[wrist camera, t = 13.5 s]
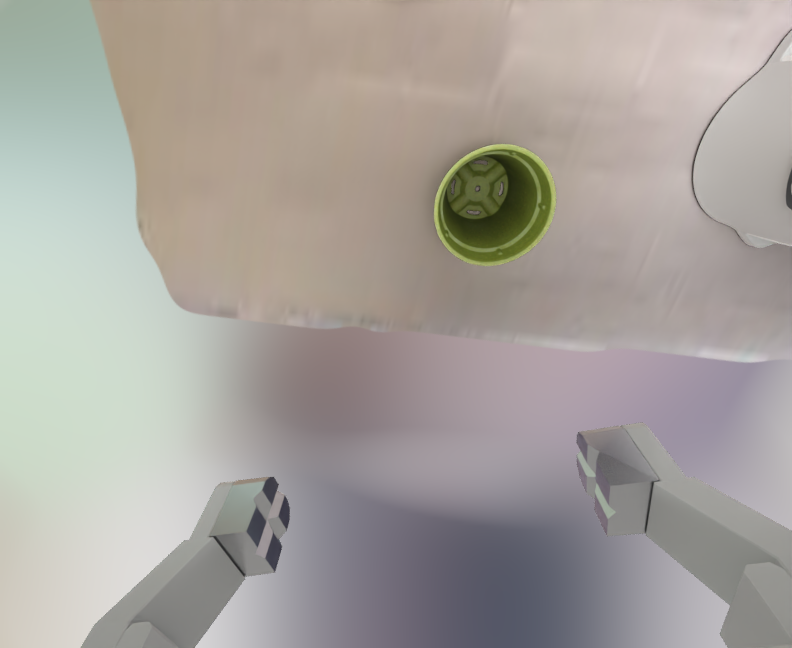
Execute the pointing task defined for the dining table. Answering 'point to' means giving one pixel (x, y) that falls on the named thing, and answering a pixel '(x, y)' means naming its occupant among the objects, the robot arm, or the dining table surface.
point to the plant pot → (495, 205)
